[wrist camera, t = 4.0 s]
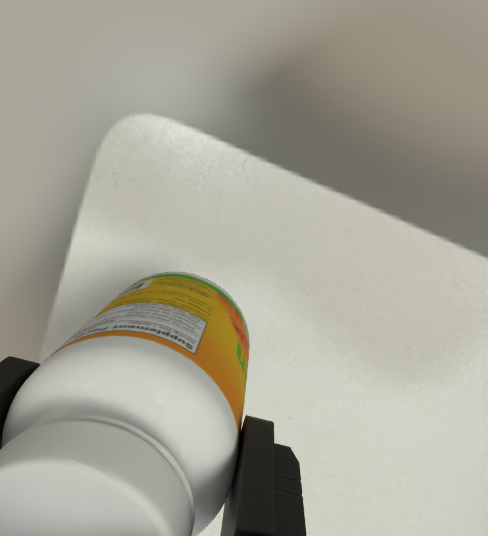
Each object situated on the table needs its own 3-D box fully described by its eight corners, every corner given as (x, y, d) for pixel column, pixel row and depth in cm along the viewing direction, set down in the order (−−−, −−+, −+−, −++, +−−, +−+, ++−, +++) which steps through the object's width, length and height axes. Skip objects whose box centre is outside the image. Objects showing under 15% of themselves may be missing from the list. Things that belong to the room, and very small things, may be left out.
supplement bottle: (235, 413, 17) (193, 719, 8) (102, 385, 17) (-102, 655, 8) (263, 285, 16) (256, 464, 6) (120, 254, 16) (-99, 389, 6)
